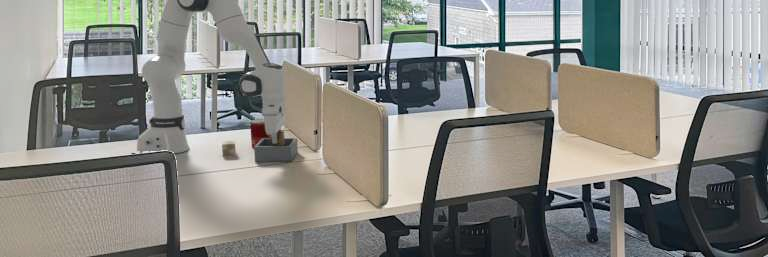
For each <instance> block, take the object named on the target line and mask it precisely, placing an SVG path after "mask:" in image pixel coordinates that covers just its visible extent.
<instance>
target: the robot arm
mask: <svg viewBox="0 0 768 257" xmlns="http://www.w3.org/2000/svg"><path fill="white" fill-rule="evenodd" d="M206 12H207V13H209V14H210V15H211V17H212V18H213V21H214V25H215V27H216V28H217V32H218V34H219V36H220V38H222V40H223V41H225V42H226V43H228V44H231V45H234V46H237V47H239V48H241V49H243V50H244V51H245V52H246V53H247V54H248V56H249V59H250V60H251V61H250V62H251V63H252V64H253V67H254V68H255V69H254V70H252V71H249V72H248V71H247V72H246V73H244V74H242V75H241V77H240V78H239V81H238V82H239V84H238V85H239V89H240V91H241V93H242V94H243V95H244V96H245V97H247V98H256V97H259V96H260V97H261V100H262V108H261V114H262V115H263V119H264V124H265V131H266V134H267V135H271V137H272V143H273V144H276V143H277V142H278V139H277V132H278V131H282V128H283V126H285V124H286V120H285V118H286V117H285V111H286V110H287V100H286V99H287V98H286V97H287V96H286V94H285V88H286V81H285V74H284V70H283V67H282V66H281V65H279V64H277V63H274V62H270V59H269V58H268V56H267V54H266V52H265V50H264V49H263V46H262V44H261V42H260V41H259V38H258V37H257V35H256V34H255V33H254V32H253V30H252V29H251V28H250V27H249V24H248V23H247V21H246V19H245V16H244V14H243V11H242V9H241V6H240V5H239V3H238V2H237V0H166V1H165V4H164V7H163V10H162V12H161V17H160V20H159V24H158V25H159V26H158V30H157V34H156V40H157V45H158V46H157V48H158V49H157V50H158V51H157V55H156V56H154V57H151V58H149V59H148V60H147V61H146V62H145V63H144V64H143V65H142V68H141V75H142V77H143V79H144V80H145V82H146V83H147V86H148V88H149V91H150V95H151V100H152V106H153V108H152V109H153V116H152V117H151V118H150V119H149V120H148V124H150V126H149V127H148V128H147V129H146V130H144V131H143V133H141V134H140V135H139V136H138V137H137V142H136V147H134V148H133V149H132V150H136V151H140V153H142V152H143V151H149V152H150V151H161V150H168V151H172V152H174V153H175V154H179V153H184V152H187V151H188V150H190V146H189V143H188V141H187V135H186V131H185V128H186V122H185V117H184V114H183V104H182V103H183V102H182V96H181V94H180V93H179V90H178V88H177V85H176V80H177V79H179V78H180V77H181V76H182V75H183V74H184V72H185V70H186V62H185V51H186V42H187V38H188V32H189V29H190V24H191V20H192V16H193V15H194V14H195V13H206Z"/></svg>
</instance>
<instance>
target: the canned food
mask: <svg viewBox="0 0 768 257" xmlns="http://www.w3.org/2000/svg"><path fill="white" fill-rule="evenodd" d="M262 138H269V135H267V134H266V131H265V124H264V118H254V119H251V120H250V142H251V147H252V148H253V149H254V146H255V145H256V144H257V143H258V142H259V141H260V140H261V139H262Z"/></svg>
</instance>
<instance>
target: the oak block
mask: <svg viewBox="0 0 768 257" xmlns="http://www.w3.org/2000/svg"><path fill="white" fill-rule="evenodd" d="M221 148H222V157H225V158H226V157H236V156H237V152H236V140H225V141H221Z"/></svg>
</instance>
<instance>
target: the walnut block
mask: <svg viewBox="0 0 768 257" xmlns="http://www.w3.org/2000/svg"><path fill="white" fill-rule="evenodd" d="M284 138H285V131H284V130H281V131H278V132H277V139H278V142H277V143H276V144H273V143H272V137H271V135H269V146H283V145H284V144H285V140H284Z"/></svg>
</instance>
